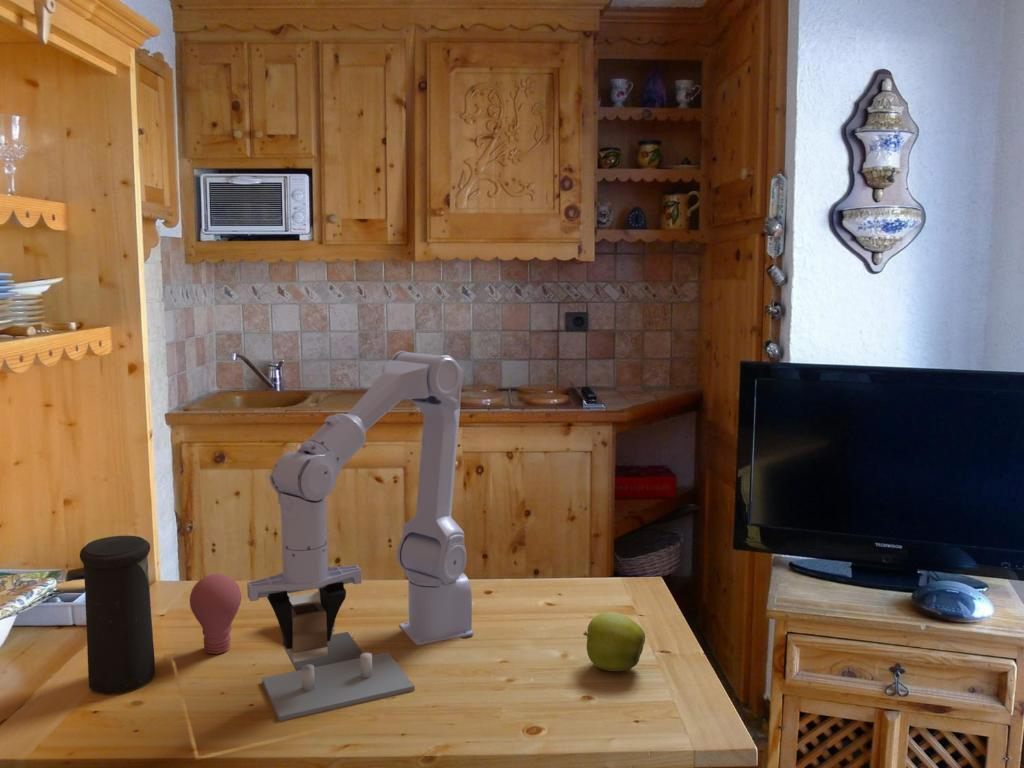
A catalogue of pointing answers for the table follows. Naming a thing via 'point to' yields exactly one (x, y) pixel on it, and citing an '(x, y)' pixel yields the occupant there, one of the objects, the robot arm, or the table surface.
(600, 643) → the apple
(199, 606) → the light bulb
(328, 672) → the pin board
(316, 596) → the feeder chute
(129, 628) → the container
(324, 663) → the mat
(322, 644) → the sleeve
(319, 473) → the robot arm
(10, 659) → the table surface
